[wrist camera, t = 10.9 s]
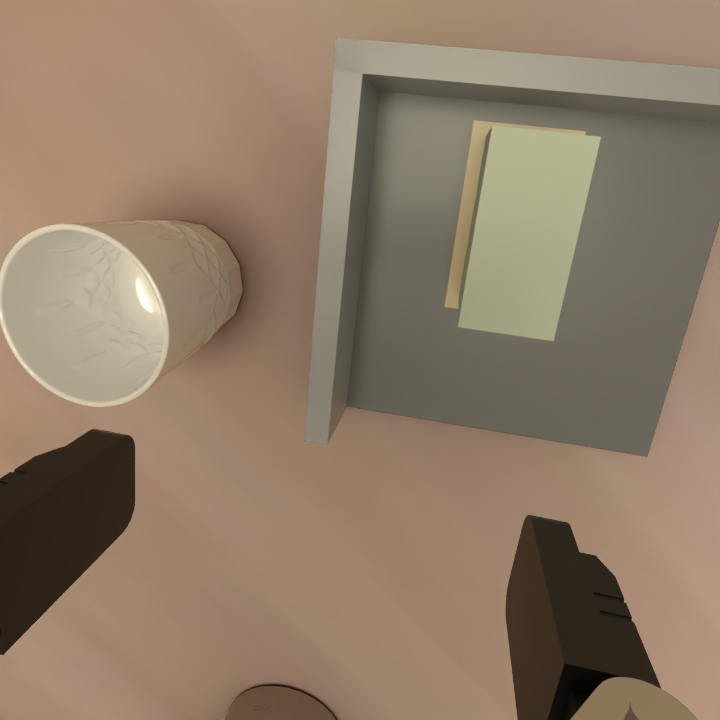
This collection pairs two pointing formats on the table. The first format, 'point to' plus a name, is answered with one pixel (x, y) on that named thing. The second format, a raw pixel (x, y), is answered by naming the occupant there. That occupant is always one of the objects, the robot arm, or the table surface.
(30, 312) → the white cup
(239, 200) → the table surface
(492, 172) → the sage block
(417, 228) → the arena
